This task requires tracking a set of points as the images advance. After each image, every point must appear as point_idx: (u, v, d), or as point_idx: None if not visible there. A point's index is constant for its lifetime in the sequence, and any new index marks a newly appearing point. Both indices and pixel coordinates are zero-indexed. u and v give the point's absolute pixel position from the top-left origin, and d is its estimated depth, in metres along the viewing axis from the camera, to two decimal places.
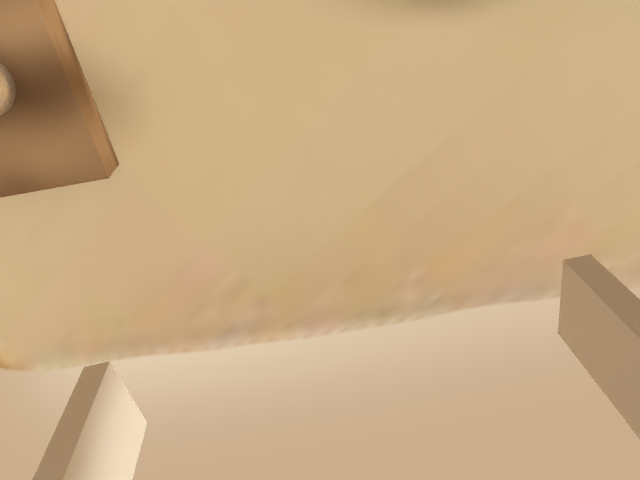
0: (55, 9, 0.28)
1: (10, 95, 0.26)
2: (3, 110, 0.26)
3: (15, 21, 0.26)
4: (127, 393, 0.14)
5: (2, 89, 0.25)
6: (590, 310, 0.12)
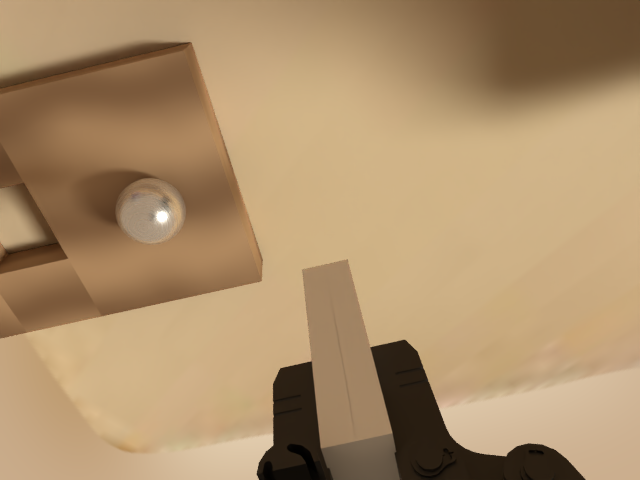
0: (215, 120, 0.27)
1: (184, 218, 0.25)
2: None
3: (185, 142, 0.25)
4: None
5: (179, 215, 0.25)
6: None
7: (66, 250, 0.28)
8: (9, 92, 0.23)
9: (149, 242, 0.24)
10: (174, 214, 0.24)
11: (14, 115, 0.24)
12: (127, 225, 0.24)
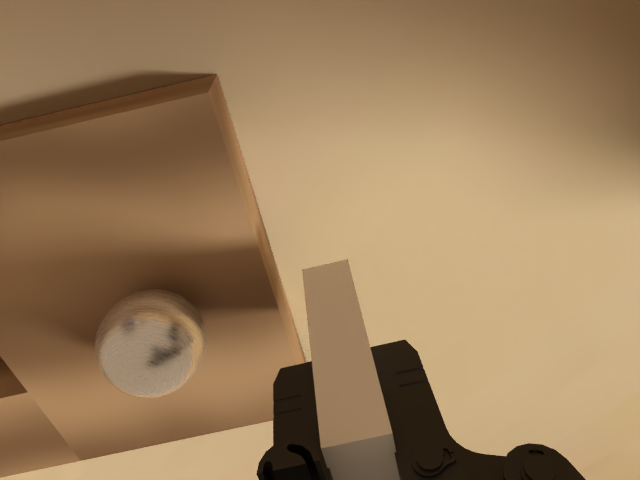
0: (251, 189, 0.18)
1: (205, 353, 0.16)
2: (193, 375, 0.16)
3: (208, 231, 0.16)
4: None
5: (198, 353, 0.15)
6: None
7: (24, 381, 0.18)
8: None
9: (151, 397, 0.15)
10: (190, 355, 0.15)
11: None
12: (114, 378, 0.14)
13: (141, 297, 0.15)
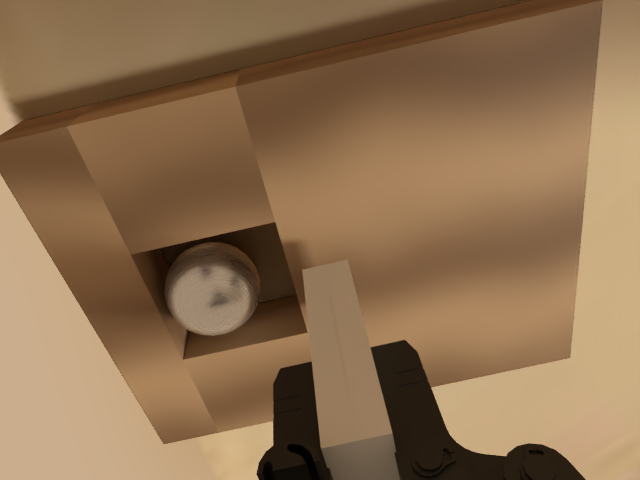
0: None
1: None
2: None
3: (545, 156, 0.15)
4: None
5: (258, 290, 0.18)
6: None
7: None
8: (292, 73, 0.14)
9: (221, 333, 0.17)
10: (254, 290, 0.17)
11: (291, 112, 0.14)
12: (194, 314, 0.16)
13: (205, 246, 0.17)
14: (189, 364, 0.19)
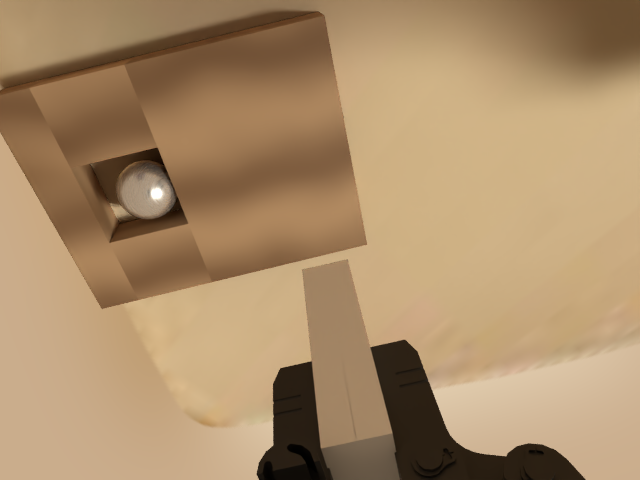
0: None
1: None
2: None
3: (314, 105, 0.26)
4: None
5: None
6: None
7: (187, 215, 0.29)
8: (156, 57, 0.24)
9: (168, 207, 0.28)
10: None
11: (158, 79, 0.25)
12: (154, 193, 0.27)
13: None
14: (113, 246, 0.29)
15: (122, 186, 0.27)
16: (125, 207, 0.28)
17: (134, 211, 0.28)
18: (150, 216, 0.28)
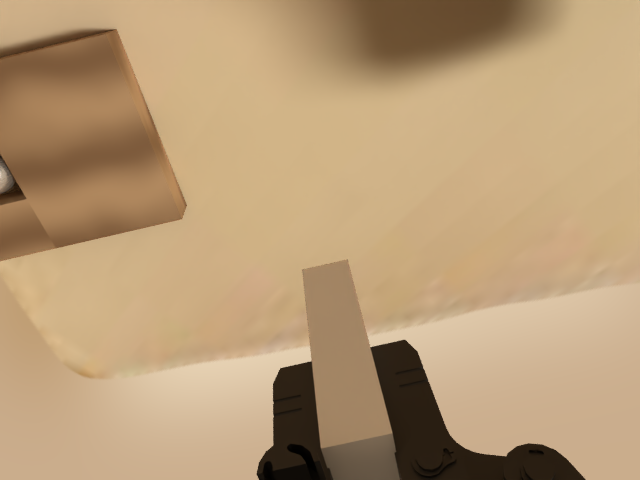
0: (139, 89, 0.35)
1: None
2: None
3: (112, 104, 0.33)
4: None
5: None
6: None
7: (25, 192, 0.36)
8: None
9: (3, 186, 0.35)
10: None
11: None
12: None
13: None
14: None
15: None
16: None
17: None
18: None
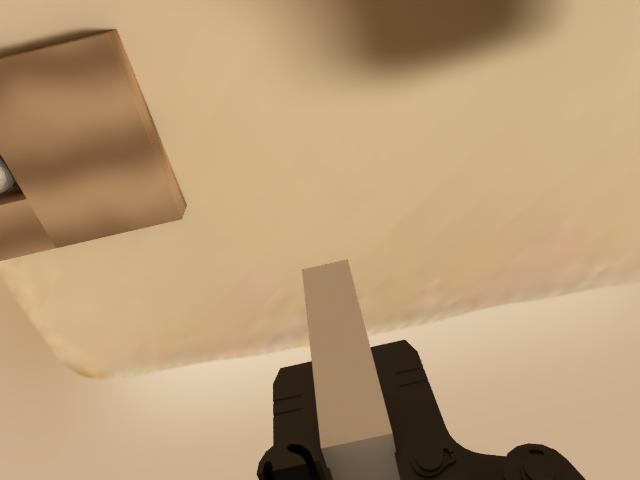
0: (139, 89, 0.35)
1: None
2: (13, 183, 0.37)
3: (112, 104, 0.33)
4: None
5: None
6: None
7: (25, 192, 0.36)
8: None
9: (0, 187, 0.35)
10: None
11: None
12: None
13: None
14: None
15: None
16: None
17: None
18: None
